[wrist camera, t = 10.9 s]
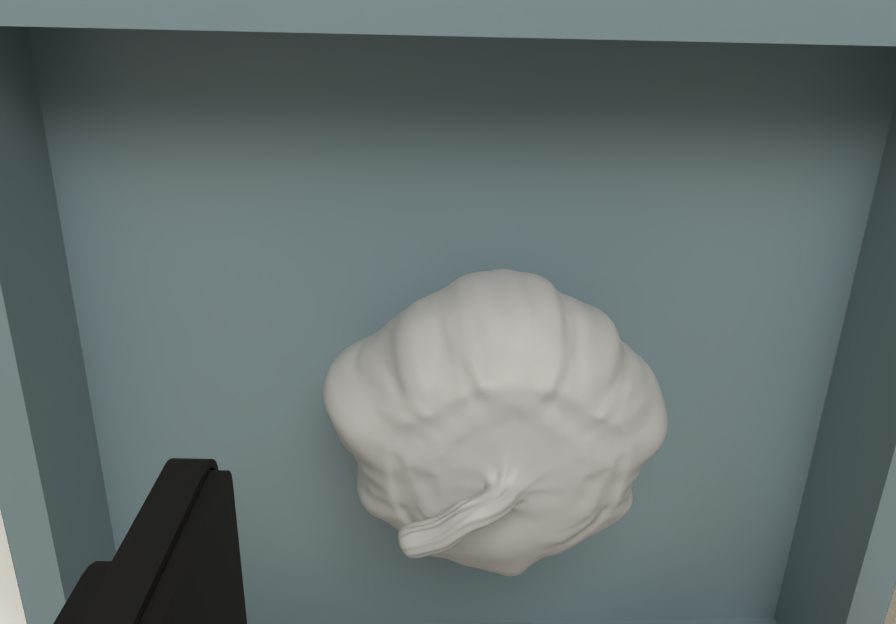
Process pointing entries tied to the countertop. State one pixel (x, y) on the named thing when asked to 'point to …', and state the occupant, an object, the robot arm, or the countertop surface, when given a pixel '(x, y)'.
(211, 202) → the tray
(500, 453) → the garlic
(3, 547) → the countertop surface
